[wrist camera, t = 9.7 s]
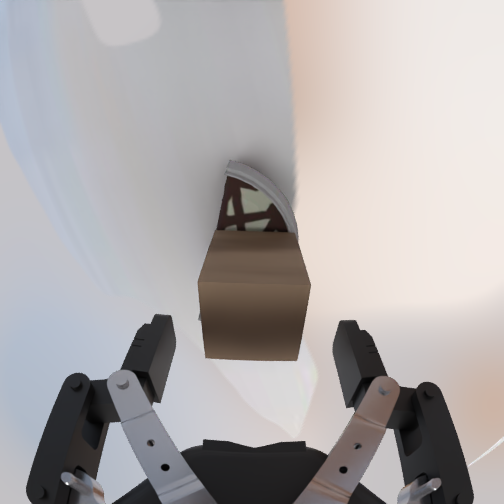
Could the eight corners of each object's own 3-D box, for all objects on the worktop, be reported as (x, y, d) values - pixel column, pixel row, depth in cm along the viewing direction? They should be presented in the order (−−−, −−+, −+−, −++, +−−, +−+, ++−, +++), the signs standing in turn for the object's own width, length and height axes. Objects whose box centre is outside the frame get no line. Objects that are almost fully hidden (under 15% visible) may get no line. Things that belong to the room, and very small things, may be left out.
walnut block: (215, 230, 18) (197, 281, 12) (294, 232, 18) (310, 284, 12) (217, 295, 20) (205, 358, 15) (288, 298, 20) (297, 360, 15)
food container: (269, 275, 31) (274, 339, 22) (213, 263, 30) (197, 325, 21) (302, 163, 25) (327, 189, 16) (237, 148, 25) (226, 164, 16)
